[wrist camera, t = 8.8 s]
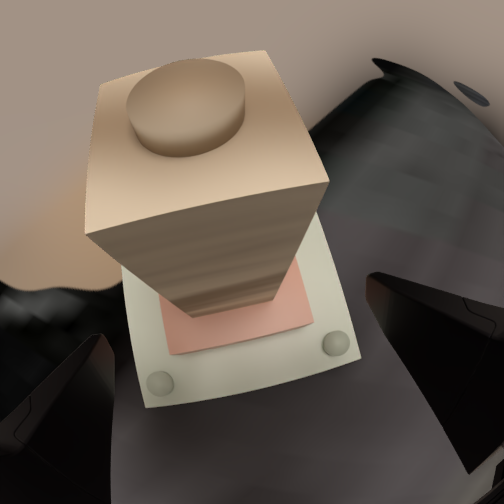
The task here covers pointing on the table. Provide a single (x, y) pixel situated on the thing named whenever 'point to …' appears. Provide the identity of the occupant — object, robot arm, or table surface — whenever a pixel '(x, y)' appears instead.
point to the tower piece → (203, 180)
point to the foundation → (242, 334)
